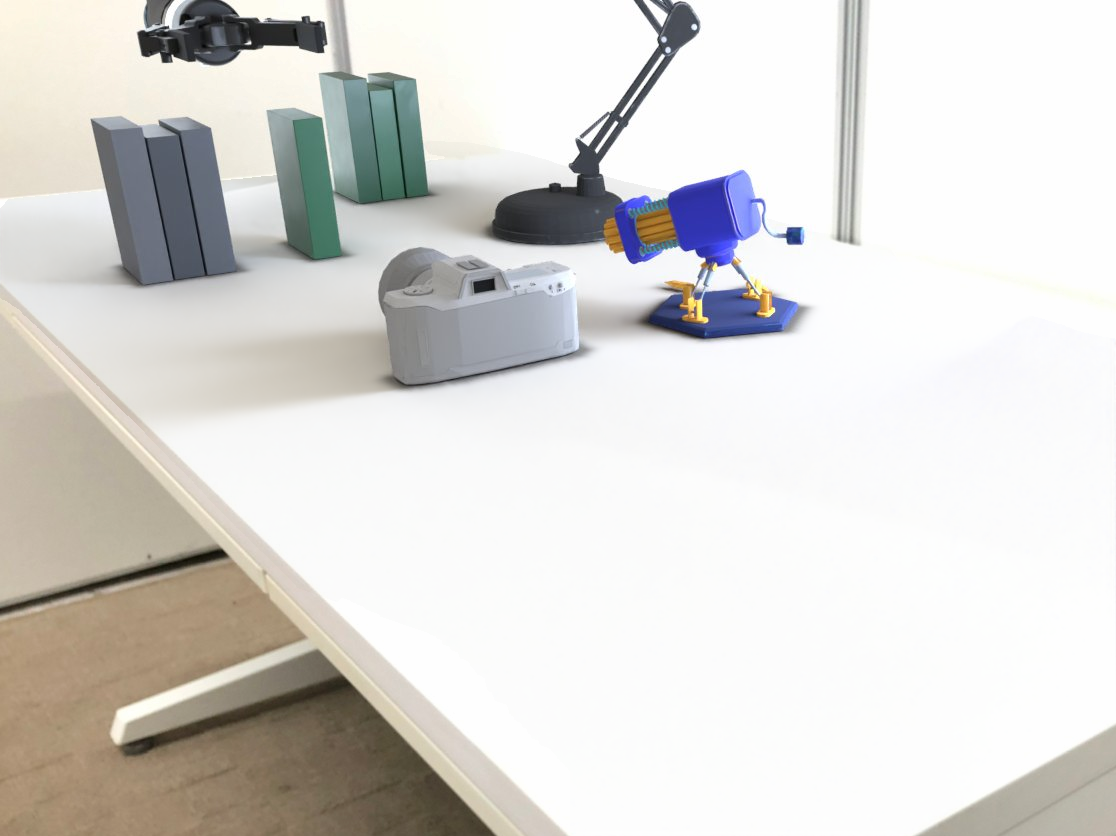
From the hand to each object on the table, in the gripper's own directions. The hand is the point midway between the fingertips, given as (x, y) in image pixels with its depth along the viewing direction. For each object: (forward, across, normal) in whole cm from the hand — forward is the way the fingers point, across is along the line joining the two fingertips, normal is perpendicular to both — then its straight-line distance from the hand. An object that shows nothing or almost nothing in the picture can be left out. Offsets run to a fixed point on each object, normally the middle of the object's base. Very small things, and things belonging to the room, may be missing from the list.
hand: (256, 43), depth 138 cm
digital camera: (+52, 0, -20) cm, 56 cm away
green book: (+10, 0, -20) cm, 22 cm away
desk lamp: (+16, -26, -20) cm, 36 cm away
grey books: (+10, +14, -20) cm, 26 cm away
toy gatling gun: (+54, -23, -20) cm, 62 cm away
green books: (-15, -17, -20) cm, 30 cm away
